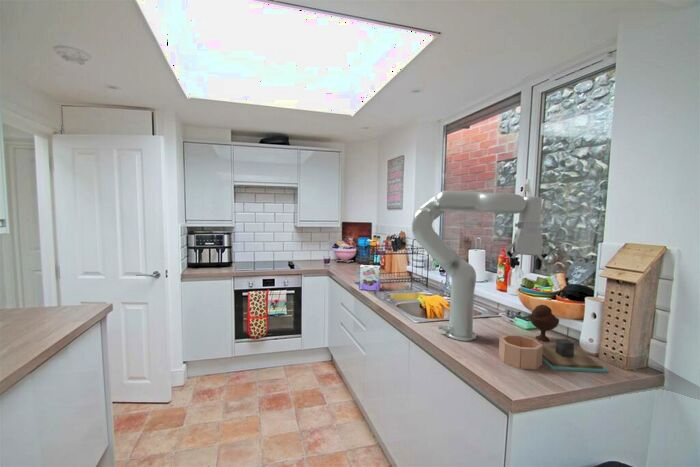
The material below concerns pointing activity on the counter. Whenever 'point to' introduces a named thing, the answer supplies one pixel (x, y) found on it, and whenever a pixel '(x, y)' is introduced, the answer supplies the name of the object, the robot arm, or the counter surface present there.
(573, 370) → the teal mat
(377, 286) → the candy box
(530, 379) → the counter surface
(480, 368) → the counter surface
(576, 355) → the walnut lid
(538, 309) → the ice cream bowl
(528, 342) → the terracotta bowl
